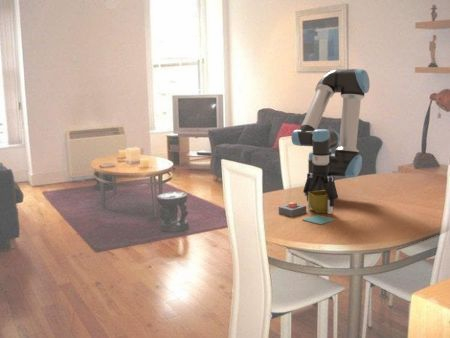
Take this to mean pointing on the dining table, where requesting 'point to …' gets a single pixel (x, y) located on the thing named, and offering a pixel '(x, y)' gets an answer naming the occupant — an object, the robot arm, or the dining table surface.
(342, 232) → the dining table surface
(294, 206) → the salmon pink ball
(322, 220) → the pad
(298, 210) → the housing
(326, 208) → the flower pot
